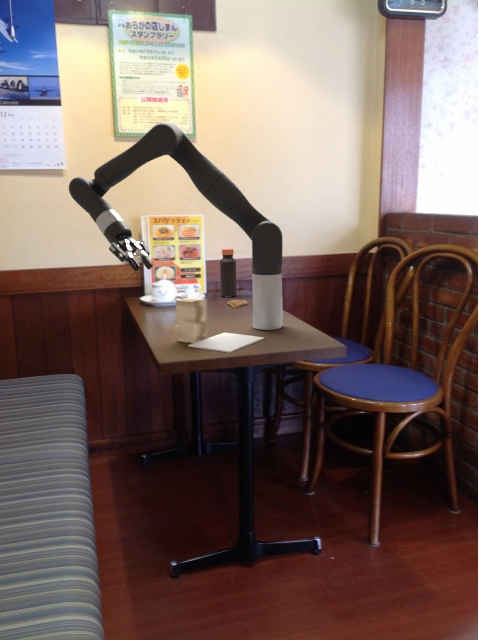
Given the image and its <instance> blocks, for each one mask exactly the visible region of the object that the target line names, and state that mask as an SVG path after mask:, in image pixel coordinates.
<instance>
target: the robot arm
mask: <svg viewBox="0 0 479 640" xmlns="http://www.w3.org/2000/svg"><path fill="white" fill-rule="evenodd" d="M164 156H169V157H170V158H171V159H173V160H174V161H175V162H176V163H177V164H178V165H179V166H180V167H181V168H182V169H183V170H184V171H185V173H187V175H188V177H189V178H190V181H192V184H193V185H194V186H195V188H196V189H197V190H198V192H199V193H200V194H201V195H202V196H203V197H204V198H205V200H207V201H208V202H209V203H210V204H211V205H212V206H214V207H215V208H216V209H217V210H218V211H220V212H221V213H222V214H224V215H225V216H226V217H228V218H229V219H230V220H232V221H233V222H234V223H235V224H237V225H238V226H239V228H240V229H241V230H242V231H243V232H244V233H245V235H247V237H248V238H249V239H250V240H251V250H252V251H251V253H252V255H251V259H252V261H251V264H252V265H251V272H252V276H251V277H252V279H251V280H252V328H254V329H256V330H259V331H260V330H262V331H271V330H273V331H274V330H279V329H281V328H283V324H284V319H283V317H284V316H283V315H284V314H283V313H284V311H283V307H284V306H283V301H284V300H283V298H284V296H283V287H282V286H283V284H282V283H283V281H282V280H283V277H282V275H283V272H282V271H283V233H282V231H281V228H280V226H278V225H277V224H276V223H275V222H273V221H271V220H269V219H268V218H267V217H265V216H264V215H263V214H262V213H261V212H259V210H257V209H256V208H255V207H254V206H253V204H251V202H250V201H249V200H248V199H247V197H246V196H245V195H244V193H243V192H242V191H241V190H240V189H239V187H238V186H237V185H236V184H235V182H233V181H232V180H231V179H230V177H228V175H226V174H225V173H224V172H223V171H222V170H221V169H220V168H219V167H218V166H216V164H214V163H213V162H212V161H211V160H210V159H209V158H208V157H207V156H206V155H204V154H203V153H202V151H200V150H199V149H198V148H197V147H196V145H195V144H194V143H193V142H192V141H191V139H189V137H188V136H187V135H186V134H185V132H184V131H183V130H182V128H180V127H179V126H178V125H177V124H176V123H174V122H171V121H165V122H160V123H156V124H155V125H153V126H152V127H151V129H149V130H148V131H147V132H146V134H144V135H143V136H142V137H141V138H140V139H139V140H137V142H135V143H134V144H133V145H131V146H130V147H129V148H127V149H126V150H124V151H123V152H121V153H119V154H118V155H116V156H115V157H113V158H111V159H110V160H108V161H106V162H105V163H104V164H102V165H101V166H99V167H97V168H96V169H95V171H94V173H93V176H94V178H93V179H92V180H91V179H90V180H89V179H87V178H84V177H82V176H81V177H80V176H77V177H74V178H73V179H71V180H70V182H69V184H68V192H69V194H70V197H71V198H72V199H73V200H74V201H75V202H76V204H77V205H78V206H79V207H81V208H82V209H83V210H84V211H85V212H86V213H88V215H89V216H90V218H91V220H93V222H94V223H95V224H96V226H97V227H98V229H99V232H101V234H102V235H103V236H104V237H105V239H106V240H107V241H108V242H109V245H110V246H109V248H108V250H109V251H110V253H112V255H114V256H115V257H116V258H117V259H118V260H119V261H120V262H122V263H124V262H125V263H126V264H129V266H130V267H131V268H132V269H133V271H134V272H139V271H140V269H141V265H140V264H139V262H138V261H137V259H135V258H138V259H139V260H141V263H142V264H143V266H144V267H145V268H146V269H147V270H151V269H152V268H153V266H154V264H153V262H152V261H151V259H149V255H150V254H151V252H150V250H149V247H148V245H147V244H146V243H145V240H143V239H141V240H140V241H137V240H136V239H135V238H134V237H133V234H132V233H133V232H132V230H131V228H130V227H129V226H128V225H127V223H126V222H125V221H124V220H123V219H122V217H121V216H120V215H119V214H118V213H117V212H116V210H114V207H112V205H111V204H110V203H109V201H107V200H106V199H105V198H103V197H104V196H105V195H106V194H107V193H108V191H110V189H112V188H113V187H114V186H117V185H118V184H119V183H121V182H123V181H124V180H126V179H127V178H128V177H130V176H131V175H132V174H133V173H134V172H136V171H137V170H138V169H139V168H141V167H142V166H143V165H144V166H145V165H146V164H147V163H149V162H151V161H153V160H155V159H158V158H161V157H164Z"/></svg>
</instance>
